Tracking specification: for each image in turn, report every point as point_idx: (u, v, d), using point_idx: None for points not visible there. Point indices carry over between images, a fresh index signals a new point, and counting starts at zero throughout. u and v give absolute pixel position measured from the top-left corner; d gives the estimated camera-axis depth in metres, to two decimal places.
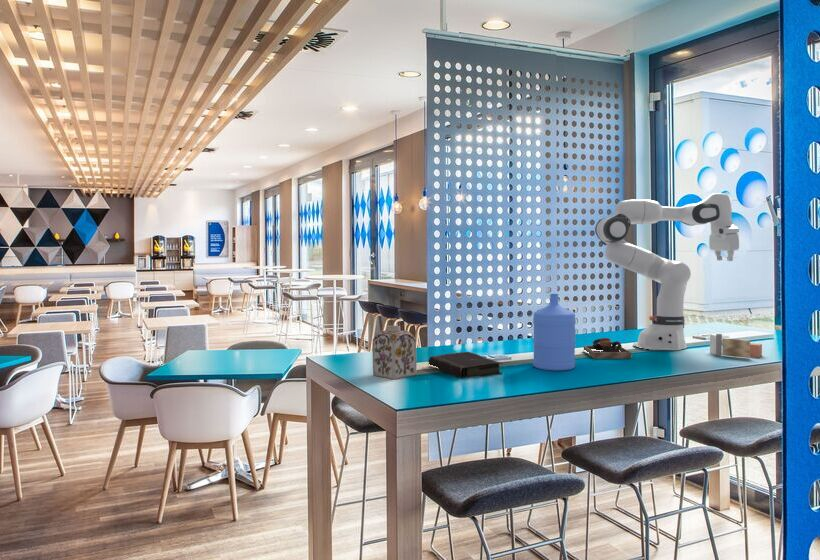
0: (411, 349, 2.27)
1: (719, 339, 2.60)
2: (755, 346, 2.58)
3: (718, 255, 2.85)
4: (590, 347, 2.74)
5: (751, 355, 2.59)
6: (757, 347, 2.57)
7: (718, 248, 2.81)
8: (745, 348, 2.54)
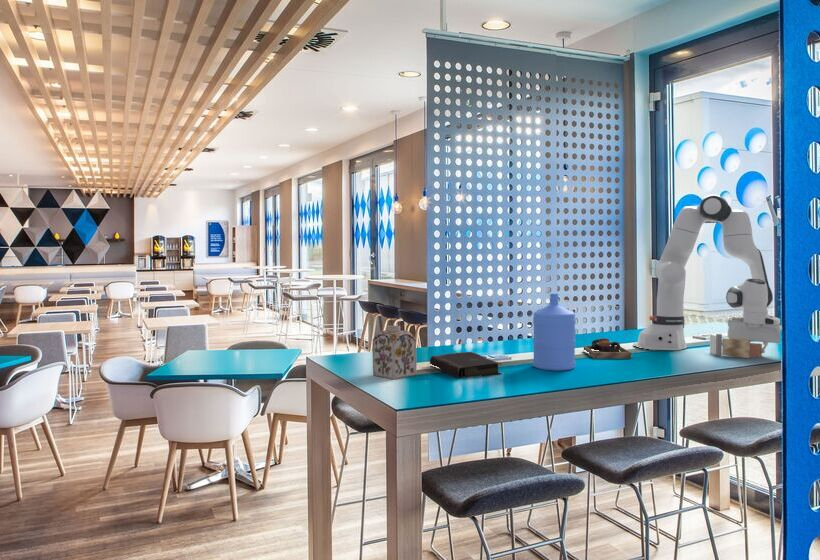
0: (411, 349, 2.27)
1: (719, 339, 2.60)
2: (755, 346, 2.58)
3: None
4: (590, 347, 2.74)
5: (751, 355, 2.59)
6: (757, 347, 2.57)
7: (750, 338, 2.59)
8: (745, 348, 2.54)
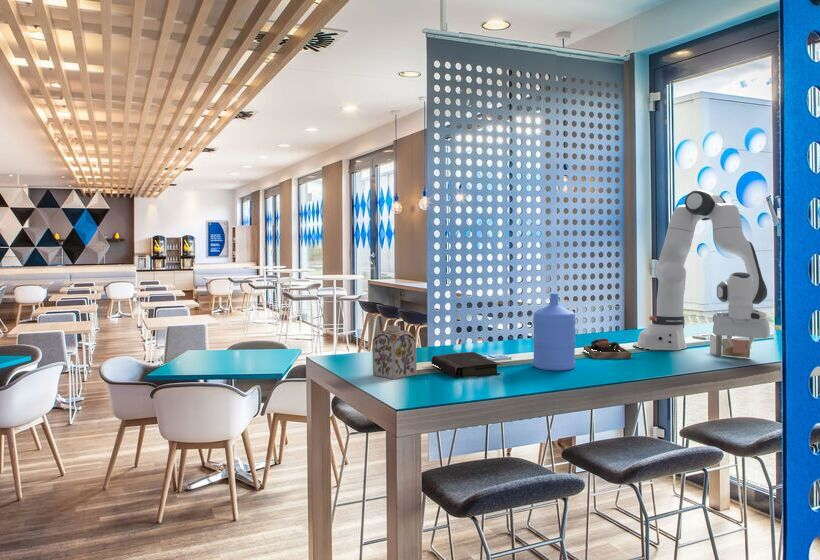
0: (411, 349, 2.27)
1: (719, 339, 2.60)
2: (741, 342, 2.51)
3: (731, 341, 2.55)
4: None
5: (737, 351, 2.52)
6: (743, 343, 2.50)
7: (736, 334, 2.52)
8: None
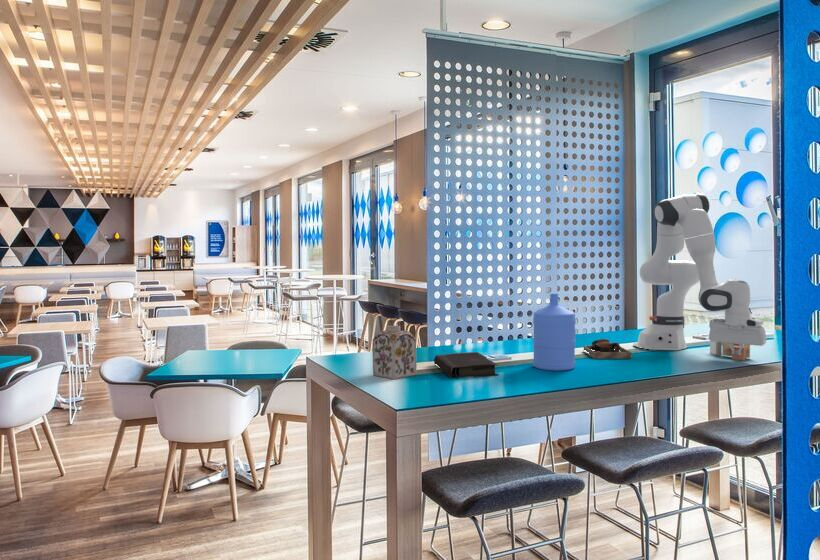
0: (411, 349, 2.27)
1: None
2: None
3: (733, 348, 2.52)
4: (590, 347, 2.74)
5: (735, 358, 2.52)
6: (742, 350, 2.51)
7: (732, 340, 2.50)
8: None
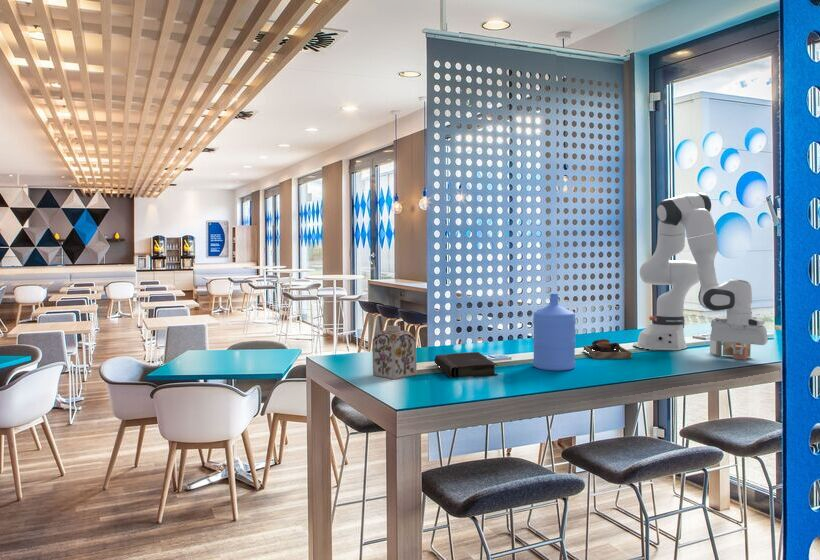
0: (411, 349, 2.27)
1: None
2: None
3: (735, 348, 2.53)
4: (590, 347, 2.74)
5: (737, 357, 2.54)
6: (743, 349, 2.52)
7: (734, 340, 2.52)
8: None
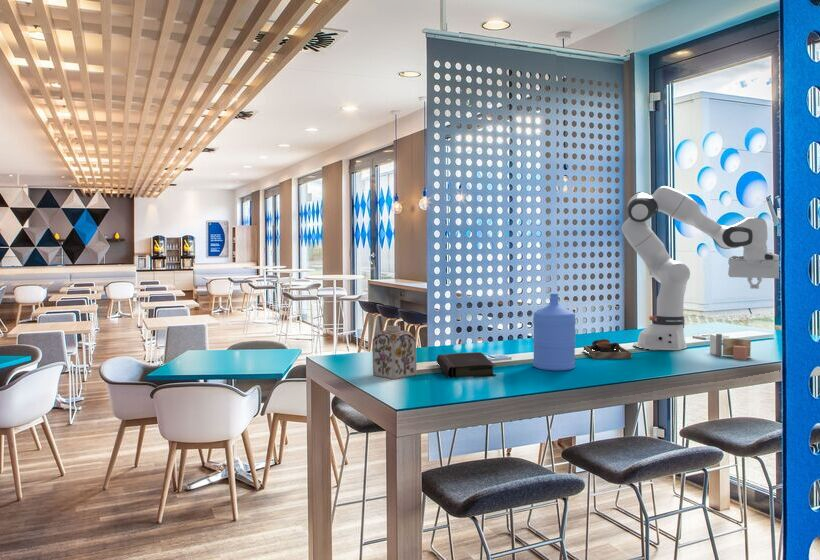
0: (411, 349, 2.27)
1: (719, 339, 2.60)
2: (741, 348, 2.53)
3: (751, 283, 2.68)
4: (590, 347, 2.74)
5: (737, 357, 2.54)
6: (743, 349, 2.52)
7: (750, 275, 2.66)
8: None
